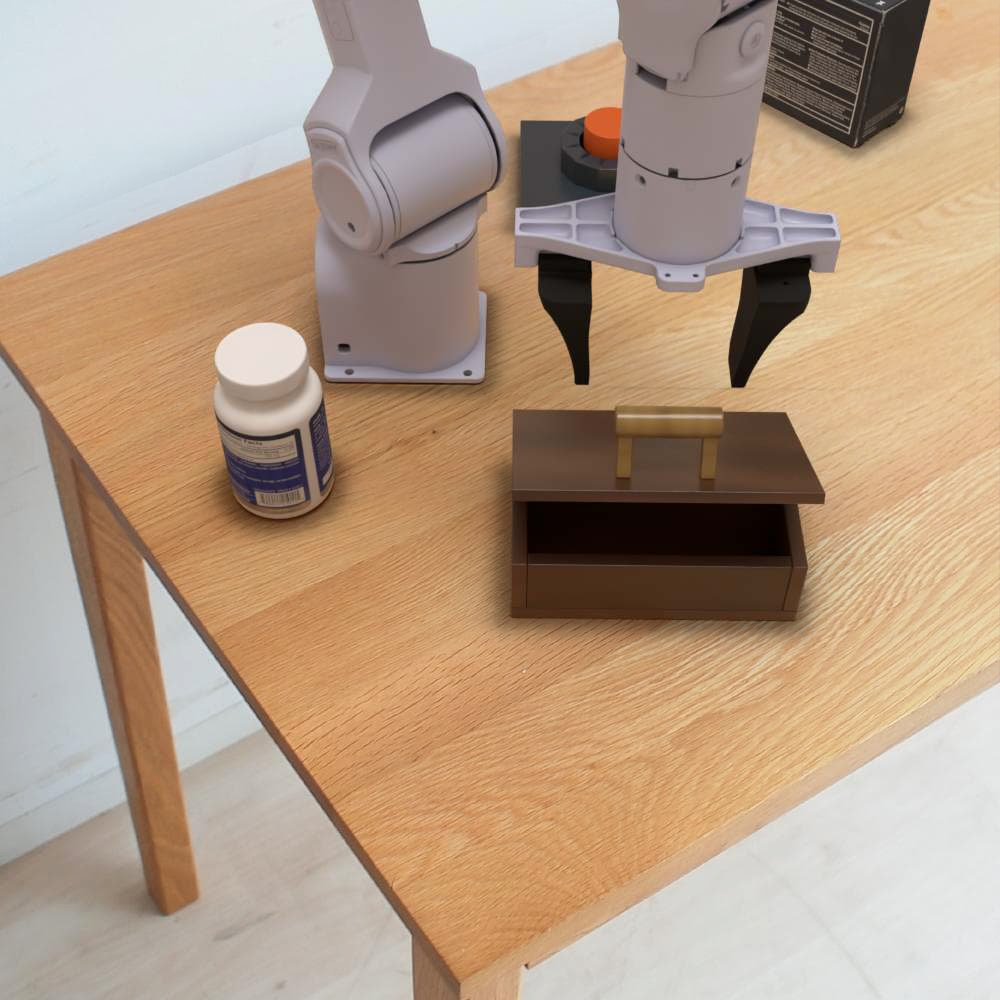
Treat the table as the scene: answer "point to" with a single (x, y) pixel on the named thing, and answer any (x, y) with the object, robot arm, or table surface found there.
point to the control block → (560, 164)
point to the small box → (844, 63)
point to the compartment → (656, 560)
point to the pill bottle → (272, 421)
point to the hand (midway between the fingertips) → (658, 372)
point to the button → (603, 132)
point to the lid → (660, 456)
